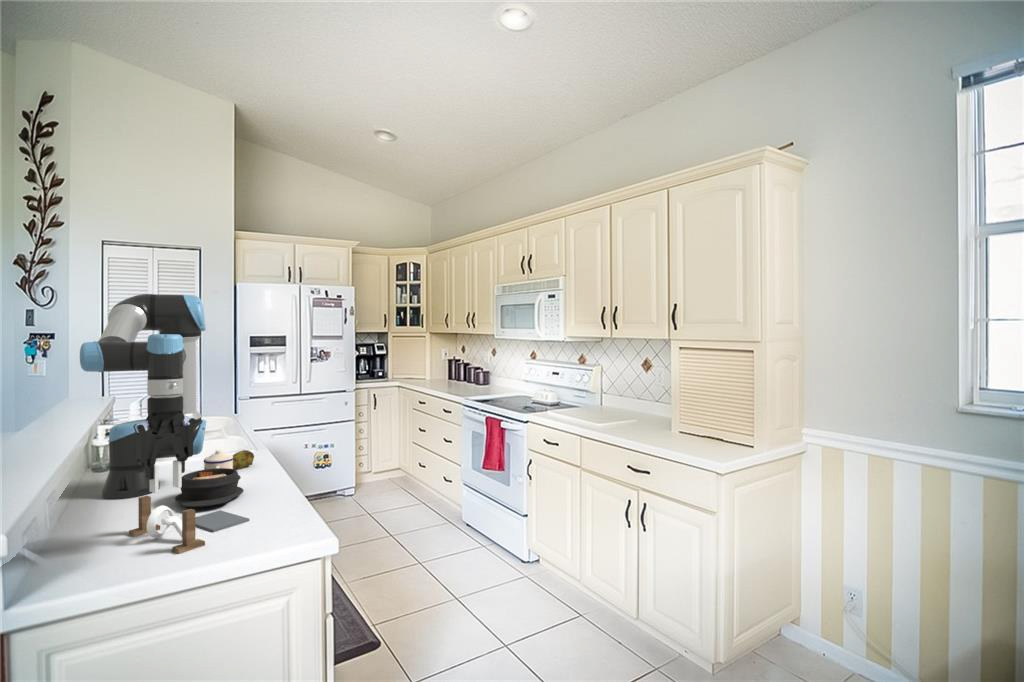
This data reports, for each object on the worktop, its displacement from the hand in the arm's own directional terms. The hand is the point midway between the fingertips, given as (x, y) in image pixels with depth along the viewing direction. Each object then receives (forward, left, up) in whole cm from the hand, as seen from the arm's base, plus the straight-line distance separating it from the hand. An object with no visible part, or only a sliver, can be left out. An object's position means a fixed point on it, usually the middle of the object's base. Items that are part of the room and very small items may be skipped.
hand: (165, 489), depth 132 cm
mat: (-2, +14, -13) cm, 19 cm away
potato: (-49, +48, -13) cm, 70 cm away
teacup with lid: (-38, +35, -13) cm, 53 cm away
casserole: (-23, +24, -13) cm, 36 cm away
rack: (0, 0, -13) cm, 13 cm away
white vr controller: (-2, -1, -13) cm, 13 cm away
